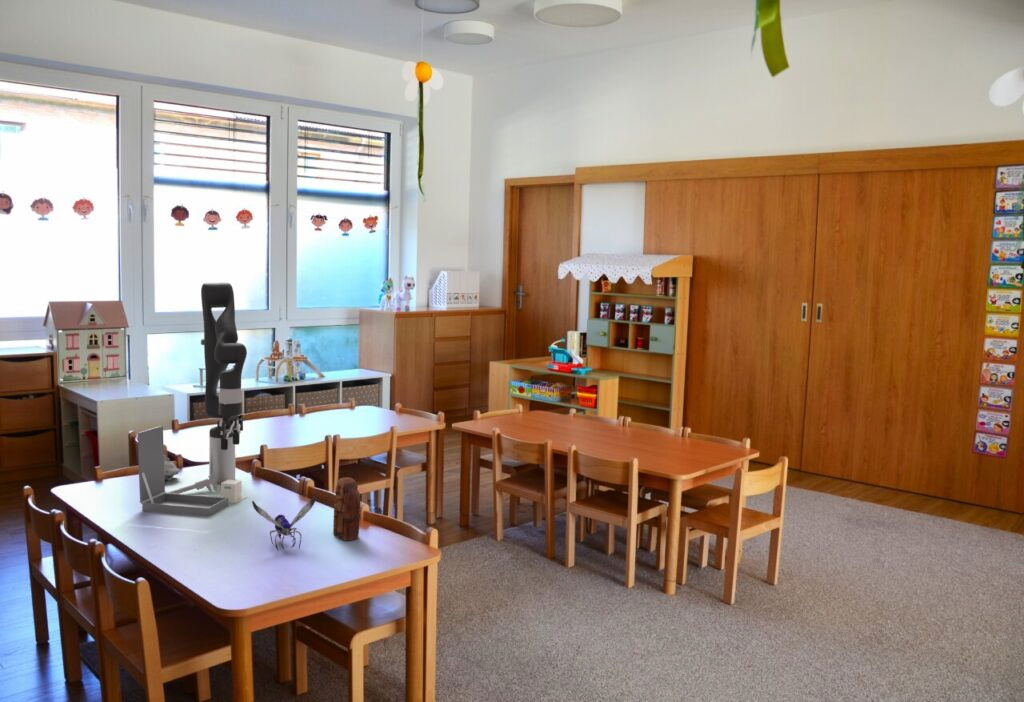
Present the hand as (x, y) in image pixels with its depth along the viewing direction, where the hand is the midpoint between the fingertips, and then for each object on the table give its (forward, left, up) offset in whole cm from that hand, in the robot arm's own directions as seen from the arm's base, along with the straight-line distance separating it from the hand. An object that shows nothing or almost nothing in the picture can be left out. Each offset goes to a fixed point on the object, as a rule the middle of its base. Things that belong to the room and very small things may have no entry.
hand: (230, 446), depth 283 cm
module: (0, +1, -18) cm, 18 cm away
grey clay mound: (-18, -36, -19) cm, 44 cm away
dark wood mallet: (+26, +52, -19) cm, 61 cm away
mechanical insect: (+38, +37, -19) cm, 56 cm away
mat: (0, +1, -19) cm, 19 cm away
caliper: (-3, -18, -19) cm, 26 cm away
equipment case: (+14, -8, -19) cm, 25 cm away
